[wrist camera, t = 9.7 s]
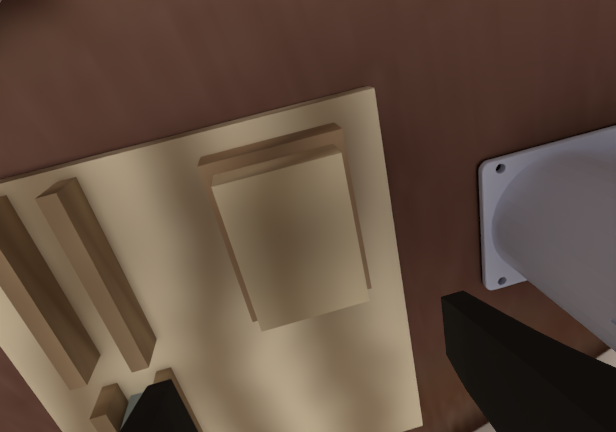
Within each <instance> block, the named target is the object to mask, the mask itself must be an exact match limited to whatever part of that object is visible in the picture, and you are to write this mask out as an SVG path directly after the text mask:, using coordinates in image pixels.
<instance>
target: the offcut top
mask: <svg viewBox="0 0 616 432" xmlns="http://www.w3.org/2000/svg"><path fill="white" fill-rule="evenodd" d="M211 188H212V191H213V194H214V197H215V200H216V202H217V205H218V208H219V211H220V214H221V217H222V220H223V223H224V225H225V228H226V231H227V234H228V237H229V240H230V243H231V246H232V248H233V251H234V254H235V257H236V260H237V263H238V266H239V268H240V271H241V274H242V277H243V280H244V283H245V286H246V289H247V291H248V294H249V297H250V300H251V303H252V306H253V309H254V312H255V314H256V317H257V320H258V323H259V326H260V329H261V332H263V331H266V330H270V329H273V328H277V327H280V326H284V325H287V324H291V323H294V322H298V321H301V320H305V319H308V318H312V317H315V316H319V315H322V314H325V313H329V312H332V311H336V310H339V309H343V308H346V307H350V306H353V305H357V304H360V303H364V302H367V301H370V300H369V295H368V290H367V284H366V279H365V274H364V269H363V263H362V258H361V253H360V248H359V242H358V237H357V232H356V227H355V221H354V216H353V211H352V206H351V200H350V195H349V190H348V185H347V179H346V174H345V169H344V164H343V158H342V153H341V152H340V151H339V150H338V149H337V148H336V147H335V146H334V144H330V145H326V146H322V147H319V148H315V149H311V150H307V151H303V152H300V153H296V154H292V155H288V156H284V157H281V158H277V159H273V160H269V161H265V162H262V163H258V164H254V165H250V166H246V167H242V168H239V169H235V170H231V171H227V172H223V173H220V174H216V175H213V180H212V186H211Z"/></svg>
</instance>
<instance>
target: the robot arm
mask: <svg viewBox="0 0 616 432" xmlns="http://www.w3.org/2000/svg"><path fill="white" fill-rule="evenodd" d="M499 164H501V167H500V169H499V170H498V171H496V167H497V166H498V165H499ZM478 175H479V200H480V226H481V251H482V277H483V285H484V286H485V287H486V288H487V289H488V290H495V289H499V288H502V287H505V286H509V285H512V284H516V283H519V282H523V281H526V280H528V281H529V282H531V283H532V284H533V285H534V286H535V287H537V288H538V289H539V290H540V291H542V292H543V293H544V294H545V295H547V296H548V297H549V298H550V299H551V300H553V301H554V302H555V303H556V304H558V305H559V306H560V307H561V308H563V309H564V310H565V311H566V312H567V313H569V314H570V315H571V316H572V317H574V318H575V319H576V320H577V321H579V322H580V323H581V324H582V325H583V326H585V327H586V328H587V329H588V330H590V331H591V332H592V333H593V334H595V335H596V336H597V337H598V338H599V339H601V340H602V341H603V342H604V343H606V344H607V345H608V346H609V347H611V348H612V349H613V350H614V351H616V125H615V126H611V127H607V128H604V129H600V130H596V131H593V132H589V133H585V134H582V135H578V136H574V137H571V138H567V139H563V140H559V141H556V142H552V143H548V144H545V145H541V146H537V147H534V148H530V149H526V150H523V151H519V152H515V153H512V154H508V155H504V156H500V157H497V158H493V159H489V160H486V161H484V162H483V163H482V164H481V165H480V167H479V171H478ZM500 278H502V279H501V280H499V279H500ZM498 280H499V281H498ZM441 301H442V312H443V323H444V334H445V345H446V355H447V356H448V358H449V360H450V362H451V364H452V366H453V367H454V369H455V371H456V373H457V375H458V376H459V378H460V380H461V382H462V383H463V385H464V387H465V388H466V390H467V392H468V393H469V394H470V396H471V397H472V399H473V400H474V401H475V403H476V404H477V406H478V407H479V408H480V410H481V411H482V413H483V414H484V415H485V417H486V418H487V420H488V421H489V422H490V424H491V425H492V426H493V428H494V429H495V431H496V432H616V368H615V367H613V366H611V365H609V364H606V363H604V362H601V361H599V360H597V359H595V358H592V357H590V356H588V355H586V354H584V353H582V352H579V351H577V350H575V349H573V348H571V347H569V346H566V345H564V344H562V343H560V342H558V341H556V340H554V339H552V338H550V337H548V336H546V335H544V334H542V333H540V332H538V331H536V330H534V329H532V328H530V327H529V326H527V325H525V324H523V323H521V322H519V321H517V320H515V319H514V318H512V317H510V316H508V315H506V314H504V313H503V312H501V311H499V310H497V309H495V308H494V307H492V306H490V305H488V304H486V303H485V302H483V301H481V300H479V299H477V298H476V297H474V296H472V295H470V294H468V293H467V292H465V291H460V292H456V293H453V294H450V295H446V296H443V297H441ZM119 432H198V430H197V428H196V426H195V424H194V422H193V420H192V418H191V416H190V414H189V412H188V410H187V408H186V407H185V405H184V403H183V401H182V399H181V397H180V395H179V393H178V391H177V389H176V387H175V385H174V383H173V381H172V379H168V380H165V381H161V382H158V383H155V384H151V385H148V386H147V387H146V389H145V390H144V392H143V393H142V395H141V397H140V398H139V400H138V401H137V403H136V405H135V406H134V408H133V410H132V411H131V413H130V415H129V416H128V418H127V420H126V421H125V423H124V425H123V426H122V428H121V430H120V431H119Z"/></svg>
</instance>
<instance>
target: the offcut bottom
mask: <svg viewBox="0 0 616 432" xmlns="http://www.w3.org/2000/svg"><path fill="white" fill-rule="evenodd" d="M330 144H334V146H335V147H336V148H337V149H338V150H339V151H340V152H341V153H342V158H343V164H344V169H345V174H346V179H347V185H348V190H349V195H350V200H351V206H352V211H353V216H354V221H355V227H356V232H357V237H358V242H359V248H360V253H361V258H362V263H363V269H364V274H365V279H366V284H367V289H371V288H372V287H371V281H370V276H369V271H368V265H367V260H366V254H365V249H364V243H363V238H362V233H361V227H360V222H359V216H358V211H357V206H356V200H355V195H354V189H353V184H352V178H351V173H350V168H349V162H348V157H347V151H346V146H345V141H344V135H343V130H342V128H341V127H339V126H338V125H337V124H336V123H334V122H333V123H330V124H326V125H322V126H318V127H314V128H310V129H306V130H303V131H299V132H295V133H291V134H287V135H283V136H279V137H276V138H272V139H268V140H264V141H260V142H256V143H252V144H249V145H245V146H241V147H237V148H233V149H229V150H226V151H222V152H218V153H214V154H210V155H206V156H202V157H200V160H199V163H198V166H197V167H198V170H199V173H200V176H201V179H202V182H203V184H204V187H205V190H206V193H207V196H208V198H209V201H210V204H211V207H212V210H213V212H214V215H215V218H216V221H217V224H218V226H219V229H220V232H221V235H222V238H223V240H224V243H225V246H226V249H227V252H228V255H229V257H230V260H231V263H232V266H233V269H234V271H235V274H236V277H237V280H238V283H239V285H240V288H241V291H242V294H243V297H244V299H245V302H246V305H247V308H248V311H249V313H250V316H251V319H252V322H255V321H258V320H257V317H256V314H255V312H254V309H253V306H252V303H251V300H250V297H249V294H248V291H247V289H246V286H245V283H244V280H243V277H242V274H241V271H240V268H239V266H238V263H237V260H236V257H235V254H234V251H233V248H232V246H231V243H230V240H229V237H228V234H227V231H226V228H225V225H224V223H223V220H222V217H221V214H220V211H219V208H218V205H217V202H216V200H215V197H214V194H213V191H212V188H211V186H212V180H213V175H216V174H220V173H223V172H227V171H231V170H235V169H239V168H242V167H246V166H250V165H254V164H258V163H262V162H265V161H269V160H273V159H277V158H281V157H284V156H288V155H292V154H296V153H300V152H303V151H307V150H311V149H315V148H319V147H322V146H326V145H330Z"/></svg>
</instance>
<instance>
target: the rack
mask: <svg viewBox="0 0 616 432" xmlns="http://www.w3.org/2000/svg"><path fill="white" fill-rule="evenodd" d="M333 122H334V123H336V124H337V125H338V126H339V127H341V128H342V130H343V135H344V141H345V146H346V151H347V157H348V162H349V168H350V173H351V178H352V184H353V189H354V195H355V200H356V206H357V211H358V216H359V222H360V227H361V233H362V238H363V243H364V249H365V254H366V260H367V265H368V271H369V276H370V281H371V287H372V288H371V289H367V290H368V295H369V300H370V301H367V302H364V303H360V304H357V305H353V306H350V307H346V308H343V309H339V310H336V311H332V312H329V313H325V314H322V315H319V316H315V317H312V318H308V319H305V320H301V321H298V322H294V323H291V324H287V325H284V326H280V327H277V328H273V329H270V330H266V331H263V332H261V329H260V326H259V323H258V321H255V322H252V319H251V316H250V313H249V311H248V308H247V305H246V302H245V299H244V297H243V294H242V291H241V288H240V285H239V283H238V280H237V277H236V274H235V271H234V269H233V266H232V263H231V260H230V257H229V255H228V252H227V249H226V246H225V243H224V240H223V238H222V235H221V232H220V229H219V226H218V224H217V221H216V218H215V215H214V212H213V210H212V207H211V204H210V201H209V198H208V196H207V193H206V190H205V187H204V184H203V182H202V179H201V176H200V173H199V170H198V167H197V166H198V163H199V160H200V157H202V156H206V155H210V154H214V153H218V152H222V151H226V150H229V149H233V148H237V147H241V146H245V145H249V144H252V143H256V142H260V141H264V140H268V139H272V138H276V137H279V136H283V135H287V134H291V133H295V132H299V131H303V130H306V129H310V128H314V127H318V126H322V125H326V124H330V123H333ZM0 346H1V348H2V349H3V350H4V352H5V353H6V355H7V356H8V357H9V359H10V360H11V361H12V363H13V364H14V366H15V367H16V368H17V370H18V371H19V372H20V374H21V375H22V377H23V378H24V379H25V381H26V382H27V383H28V385H29V386H30V388H31V389H32V390H33V392H34V393H35V395H36V396H37V397H38V399H39V400H40V401H41V403H42V404H43V406H44V407H45V408H46V410H47V411H48V412H49V414H50V415H51V417H52V418H53V419H54V421H55V422H56V423H57V425H58V426H59V428H60V429H61V430H62V432H119V431H120V429H121V426H122V423H123V419H124V416H125V413H126V410H127V406H128V403H129V400H130V397H131V395H135V394H138V393H142V392H144V390H145V389H146V387H147V386H148V385H151V384H155V383H158V382H161V381H165V380H168V379H172V381H173V383H174V385H175V387H176V389H177V391H178V393H179V395H180V397H181V399H182V401H183V403H184V405H185V407H186V408H187V410H188V412H189V414H190V416H191V418H192V420H193V422H194V424H195V426H196V428H197V430H198V432H403V431H406V430H410V429H413V428H416V427H419V426H423V423H422V416H421V409H420V402H419V395H418V388H417V381H416V374H415V367H414V360H413V354H412V347H411V340H410V333H409V326H408V319H407V312H406V305H405V298H404V291H403V284H402V277H401V270H400V263H399V256H398V249H397V242H396V235H395V228H394V221H393V214H392V207H391V200H390V193H389V186H388V179H387V173H386V166H385V159H384V152H383V145H382V138H381V131H380V124H379V117H378V110H377V103H376V96H375V89H374V88H373V87H370V86H365V87H361V88H357V89H353V90H349V91H345V92H341V93H337V94H334V95H330V96H326V97H322V98H318V99H314V100H310V101H306V102H302V103H298V104H294V105H291V106H287V107H283V108H279V109H275V110H271V111H267V112H263V113H259V114H255V115H251V116H247V117H244V118H240V119H236V120H232V121H228V122H224V123H220V124H216V125H212V126H208V127H204V128H201V129H197V130H193V131H189V132H185V133H181V134H177V135H173V136H169V137H165V138H161V139H157V140H154V141H150V142H146V143H142V144H138V145H134V146H130V147H126V148H122V149H118V150H114V151H111V152H107V153H103V154H99V155H95V156H91V157H87V158H83V159H79V160H75V161H71V162H67V163H64V164H60V165H56V166H52V167H48V168H44V169H40V170H36V171H32V172H28V173H24V174H20V175H17V176H13V177H9V178H5V179H1V180H0Z"/></svg>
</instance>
